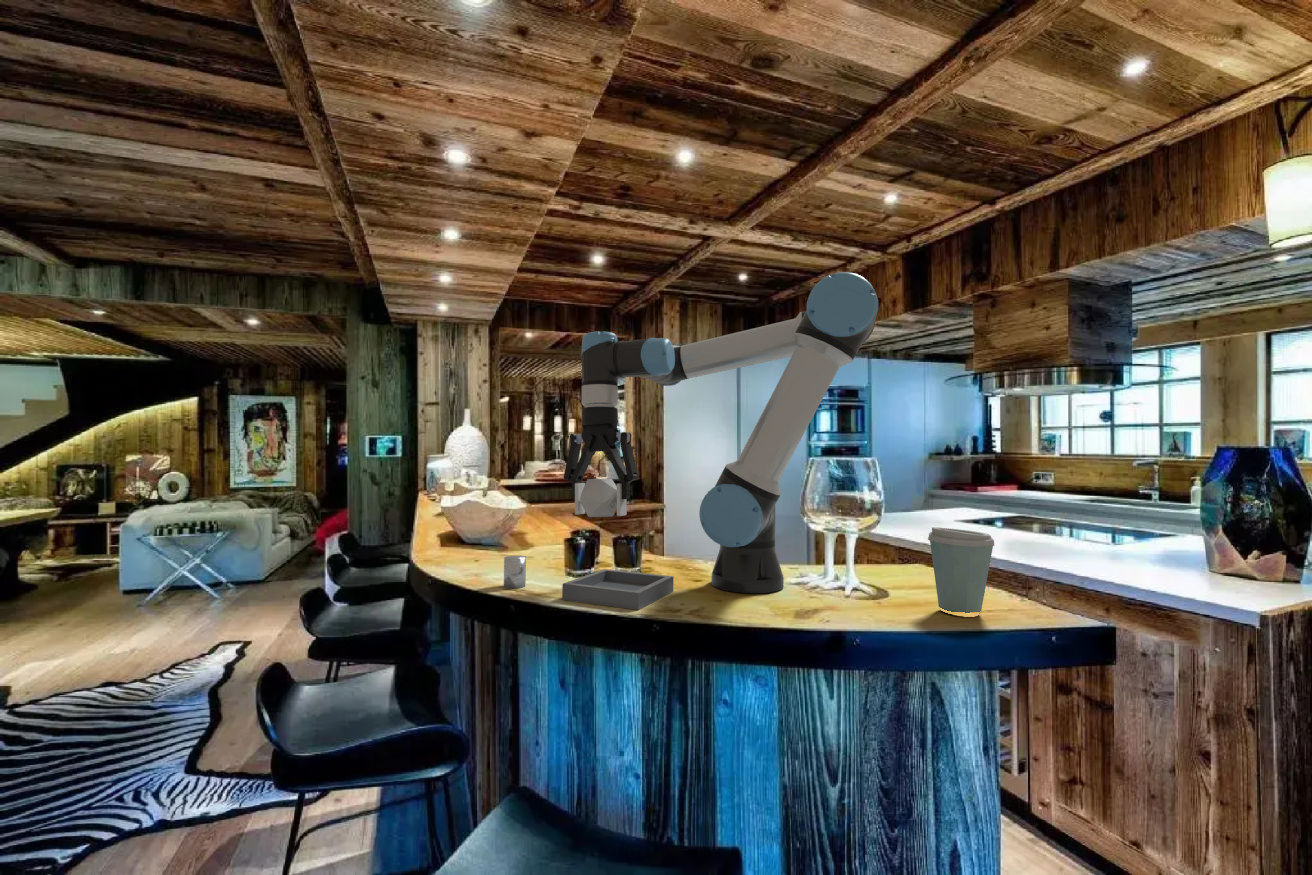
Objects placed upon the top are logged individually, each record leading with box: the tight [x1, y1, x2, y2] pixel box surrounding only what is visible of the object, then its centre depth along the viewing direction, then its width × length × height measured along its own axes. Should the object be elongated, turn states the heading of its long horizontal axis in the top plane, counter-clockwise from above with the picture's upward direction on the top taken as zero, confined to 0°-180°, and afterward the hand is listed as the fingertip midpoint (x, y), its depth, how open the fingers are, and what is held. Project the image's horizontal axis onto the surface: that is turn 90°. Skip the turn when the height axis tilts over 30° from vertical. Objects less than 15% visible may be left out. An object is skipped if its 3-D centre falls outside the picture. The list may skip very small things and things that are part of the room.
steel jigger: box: [503, 555, 527, 590], centre depth 119 cm, size 4×4×6 cm
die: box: [580, 478, 617, 518], centre depth 120 cm, size 8×9×10 cm
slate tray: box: [561, 568, 674, 611], centre depth 112 cm, size 16×16×3 cm
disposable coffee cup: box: [927, 526, 995, 613], centre depth 102 cm, size 11×11×15 cm
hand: (600, 514), depth 119 cm, fingers closed on die, 9 cm apart
